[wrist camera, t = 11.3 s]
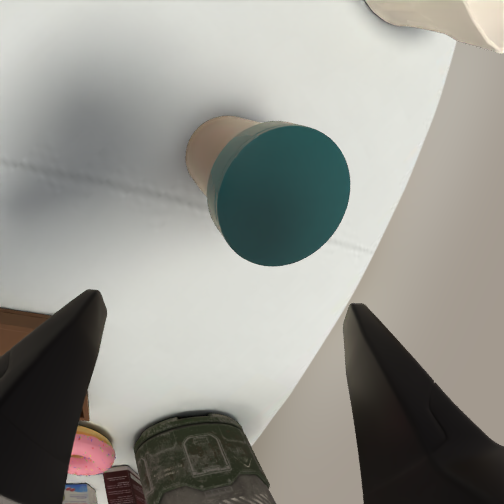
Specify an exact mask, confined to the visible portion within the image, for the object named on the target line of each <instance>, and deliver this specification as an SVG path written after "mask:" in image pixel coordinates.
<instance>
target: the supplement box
mask: <svg viewBox="0 0 504 504" xmlns="http://www.w3.org/2000/svg"><path fill="white" fill-rule="evenodd" d="M103 477H104V483H105V488H106V494H107V499H108V504H146V500H145V497H144V493H143V489H142V485H141V481H140V477H139V476H138V475H137V474H136V473H135V472H134V471H133V470H132V469H131V468H129V467H128V466H118V467H112V468H110V469H108V470H106V473H105V472H103Z"/></svg>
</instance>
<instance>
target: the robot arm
mask: <svg viewBox="0 0 504 504" xmlns="http://www.w3.org/2000/svg"><path fill="white" fill-rule="evenodd" d="M106 317H107V309H106V306H105V303H104V301H103V298H102V295H101V293H100V292H99V291H98V290H91V289H88V290H86V291H84V292H83V293H82V294H80V295H79V296H77V297H76V298H75V299H73V300H72V301H71V302H69V303H68V304H67V305H65V306H64V307H63V308H61V309H60V310H59V311H58V312H56V313H55V314H54V315H52V316H51V317H50V318H48V319H47V320H46V321H45V322H43V323H42V324H41V325H39V326H38V327H37V328H36V329H34V330H33V331H32V332H31V333H29V334H28V335H27V336H26V337H24V338H23V339H22V340H21V341H19V342H18V343H17V344H16V345H14V346H13V347H12V348H11V349H10V350H8V351H7V352H6V353H5V354H4V355H2V356H1V357H0V504H63V497H64V491H65V485H66V479H67V474H68V469H69V463H70V458H71V453H72V449H73V444H74V440H75V436H76V431H77V427H78V423H79V419H80V415H81V412H82V408H83V404H84V401H85V397H86V393H87V390H88V386H89V383H90V380H91V376H92V373H93V370H94V367H95V363H96V360H97V357H98V352H99V348H100V343H101V339H102V334H103V330H104V325H105V321H106ZM343 334H344V349H345V365H346V375H347V382H348V388H349V394H350V400H351V406H352V413H353V419H354V425H355V433H356V439H357V447H358V454H359V462H360V470H361V479H362V489H363V500H364V504H504V446H501V445H499V444H497V443H495V442H494V441H493V440H491V439H490V438H489V437H488V436H487V435H486V434H485V433H484V432H483V431H482V430H481V429H480V428H479V427H477V426H476V425H475V424H474V423H473V422H472V421H471V420H470V419H469V418H468V417H467V416H466V415H465V414H464V413H463V412H462V411H461V410H460V409H459V408H458V407H457V406H456V405H455V404H454V403H453V402H452V401H451V400H450V398H449V397H448V396H447V395H446V394H445V393H444V392H443V391H442V390H441V388H440V387H439V386H438V385H437V384H436V383H434V380H432V378H431V377H430V376H429V375H428V374H427V372H426V371H425V370H424V369H423V368H422V367H421V366H420V364H419V363H418V362H417V361H416V360H415V359H414V358H413V357H412V355H411V354H410V353H409V352H408V351H407V350H406V349H405V348H404V347H403V345H401V343H400V342H399V341H398V340H397V339H396V338H395V337H394V336H393V334H392V333H391V332H390V331H389V330H388V329H387V328H386V327H385V326H384V325H383V324H382V322H381V321H380V320H379V319H378V318H377V317H376V316H375V315H374V314H373V313H372V312H371V311H370V310H369V309H368V307H367V306H365V305H364V304H362V303H352V304H350V305H349V308H348V310H347V314H346V317H345V320H344V324H343Z"/></svg>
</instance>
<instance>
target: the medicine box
mask: <svg viewBox="0 0 504 504" xmlns="http://www.w3.org/2000/svg"><path fill="white" fill-rule="evenodd" d="M63 504H98V503H97V497H96V491H95V490H94V489H92V488H91V487H90V486H89V485H87V484H66V485H65V491H64V497H63Z"/></svg>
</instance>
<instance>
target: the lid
mask: <svg viewBox="0 0 504 504" xmlns="http://www.w3.org/2000/svg"><path fill="white" fill-rule="evenodd" d="M349 195H350V175H349V170H348V166H347V163H346V160H345V158H344V156H343V154H342V152H341V150H340V149H339V148H338V146H337V145H336V144H335V143H334V142H333V141H332V140H331V139H330V138H329V137H328V136H326V135H325V134H323V133H321V132H320V131H318V130H315V129H312V128H309V127H306V126H302V125H298V124H294V123H289V122H283V121H270V122H263V123H260V124H257V125H254V126H251V127H249V128H247V129H245V130H244V131H242V132H240V133H239V134H237V135H236V136H235V137H234V138H233V139H231V140H230V141H229V142H228V143H227V145H226V146H225V147H224V148H223V149H222V151H221V152H220V153H219V155H218V156H217V158H216V160H215V162H214V164H213V166H212V169H211V172H210V175H209V179H208V185H207V203H208V208H209V212H210V215H211V218H212V220H213V222H214V224H215V226H216V227H217V229H218V230H219V231H220V233H221V234H222V236H223V237H224V239H225V240H226V242H227V243H228V244H229V246H230V247H231V248H232V249H233V250H234V251H235V252H236V253H237V254H238V255H239V256H241V257H242V258H244V259H246V260H248V261H250V262H252V263H255V264H258V265H263V266H283V265H288V264H291V263H294V262H297V261H300V260H302V259H304V258H306V257H308V256H309V255H311V254H313V253H314V252H315V251H317V250H318V249H319V248H320V247H321V246H323V245H324V244H325V243H326V242H327V241H328V239H329V238H330V237H331V236H332V235H333V233H334V232H335V231H336V229H337V227H338V226H339V224H340V222H341V220H342V218H343V216H344V214H345V211H346V208H347V205H348V201H349Z"/></svg>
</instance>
